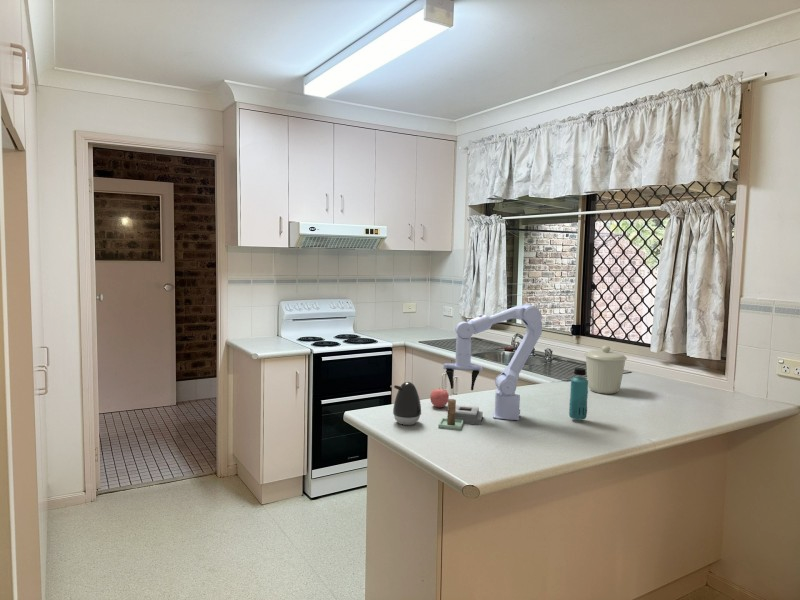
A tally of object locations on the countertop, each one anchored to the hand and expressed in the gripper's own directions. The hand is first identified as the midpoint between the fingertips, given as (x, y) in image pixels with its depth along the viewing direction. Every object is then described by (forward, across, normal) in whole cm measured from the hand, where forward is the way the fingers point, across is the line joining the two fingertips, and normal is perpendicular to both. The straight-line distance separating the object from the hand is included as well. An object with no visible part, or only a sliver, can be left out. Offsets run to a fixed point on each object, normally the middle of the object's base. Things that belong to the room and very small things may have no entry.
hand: (462, 388), depth 213 cm
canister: (+11, -58, -57) cm, 82 cm away
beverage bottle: (+11, -43, -7) cm, 45 cm away
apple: (+11, +10, -9) cm, 17 cm away
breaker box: (+10, -2, +4) cm, 11 cm away
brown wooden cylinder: (+10, +2, +13) cm, 17 cm away
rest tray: (+10, +2, +13) cm, 17 cm away
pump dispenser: (+11, +18, +15) cm, 26 cm away
